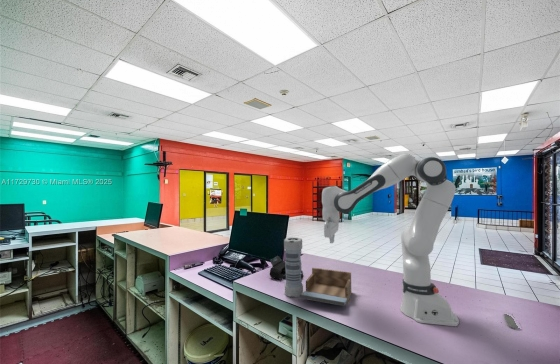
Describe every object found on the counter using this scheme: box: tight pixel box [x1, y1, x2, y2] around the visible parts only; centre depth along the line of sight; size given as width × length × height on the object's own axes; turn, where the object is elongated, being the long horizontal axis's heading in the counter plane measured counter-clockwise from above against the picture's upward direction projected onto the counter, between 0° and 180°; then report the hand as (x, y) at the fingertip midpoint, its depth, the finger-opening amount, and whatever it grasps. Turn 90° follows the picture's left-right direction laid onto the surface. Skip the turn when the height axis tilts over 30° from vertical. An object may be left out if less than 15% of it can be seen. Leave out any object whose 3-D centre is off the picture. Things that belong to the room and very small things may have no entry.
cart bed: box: [305, 267, 352, 305], centre depth 132 cm, size 22×14×11 cm, turn 66°
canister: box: [283, 236, 304, 298], centre depth 134 cm, size 10×10×30 cm
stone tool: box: [503, 314, 520, 330], centre depth 104 cm, size 14×1×5 cm
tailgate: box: [298, 290, 347, 307], centre depth 121 cm, size 22×2×9 cm
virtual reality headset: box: [269, 255, 304, 281], centre depth 160 cm, size 19×22×10 cm
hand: (332, 242), depth 129 cm, fingers closed
